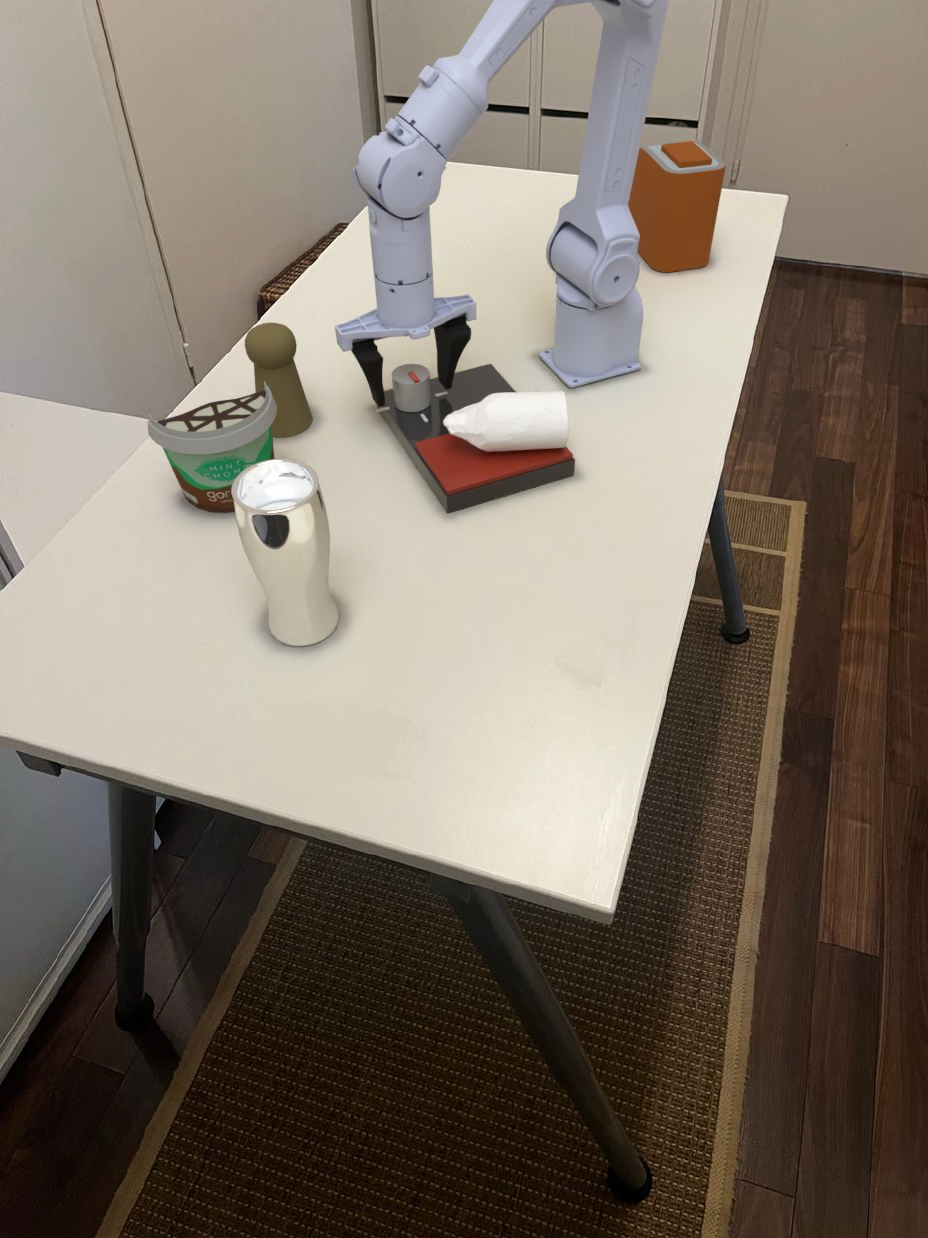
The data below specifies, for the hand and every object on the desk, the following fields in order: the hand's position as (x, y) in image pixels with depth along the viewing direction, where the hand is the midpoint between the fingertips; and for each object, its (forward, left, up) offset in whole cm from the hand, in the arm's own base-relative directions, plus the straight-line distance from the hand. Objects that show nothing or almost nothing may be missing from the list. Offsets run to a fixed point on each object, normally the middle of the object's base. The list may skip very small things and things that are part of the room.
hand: (412, 393), depth 99 cm
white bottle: (-5, +12, -1) cm, 13 cm away
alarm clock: (-47, -23, -3) cm, 53 cm away
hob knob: (0, 0, -1) cm, 1 cm away
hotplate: (-4, +12, -1) cm, 13 cm away
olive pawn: (+13, -5, -3) cm, 15 cm away
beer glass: (+20, +25, -3) cm, 32 cm away
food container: (+21, +6, -3) cm, 22 cm away
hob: (-4, +7, -3) cm, 8 cm away
